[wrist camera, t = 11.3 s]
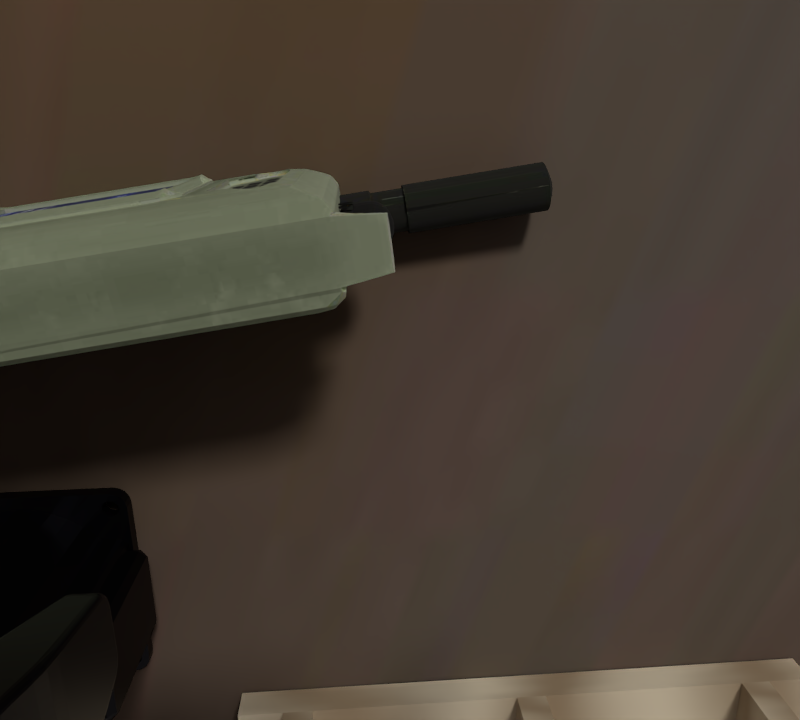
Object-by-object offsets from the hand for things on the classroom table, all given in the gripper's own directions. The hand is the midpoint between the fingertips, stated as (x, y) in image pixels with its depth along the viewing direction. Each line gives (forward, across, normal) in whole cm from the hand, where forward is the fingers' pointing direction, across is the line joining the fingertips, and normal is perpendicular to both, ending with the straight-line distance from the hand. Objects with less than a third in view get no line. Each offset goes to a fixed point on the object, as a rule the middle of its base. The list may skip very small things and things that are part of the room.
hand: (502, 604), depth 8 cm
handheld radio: (+14, +9, -2) cm, 16 cm away
